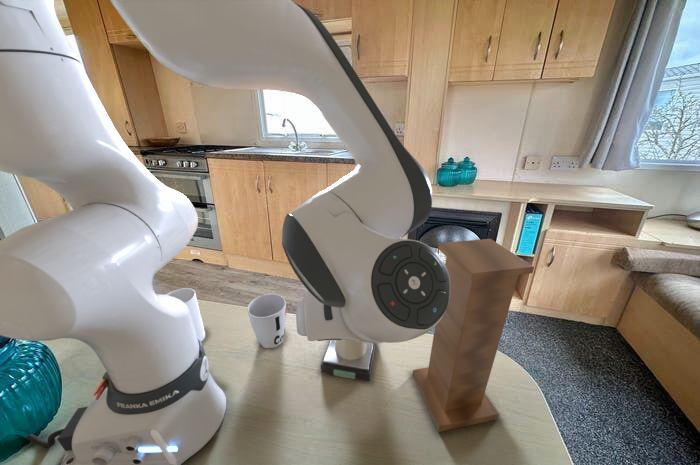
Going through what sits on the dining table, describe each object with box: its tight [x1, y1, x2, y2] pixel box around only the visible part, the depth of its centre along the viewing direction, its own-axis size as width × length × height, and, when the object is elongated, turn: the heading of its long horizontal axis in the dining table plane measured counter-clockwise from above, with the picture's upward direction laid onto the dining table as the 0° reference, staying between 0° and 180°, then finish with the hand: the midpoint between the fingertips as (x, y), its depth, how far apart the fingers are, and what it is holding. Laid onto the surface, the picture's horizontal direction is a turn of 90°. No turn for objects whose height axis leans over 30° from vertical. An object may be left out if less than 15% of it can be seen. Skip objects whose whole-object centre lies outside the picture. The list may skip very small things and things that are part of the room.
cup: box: [246, 293, 287, 349], centre depth 62 cm, size 8×8×10 cm
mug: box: [165, 287, 206, 343], centre depth 60 cm, size 10×7×12 cm, turn 178°
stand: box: [412, 238, 535, 433], centre depth 46 cm, size 11×11×30 cm
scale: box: [320, 340, 377, 382], centre depth 59 cm, size 10×10×3 cm
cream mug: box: [335, 339, 367, 360], centre depth 58 cm, size 7×9×10 cm
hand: (355, 316), depth 49 cm, fingers open, 8 cm apart
